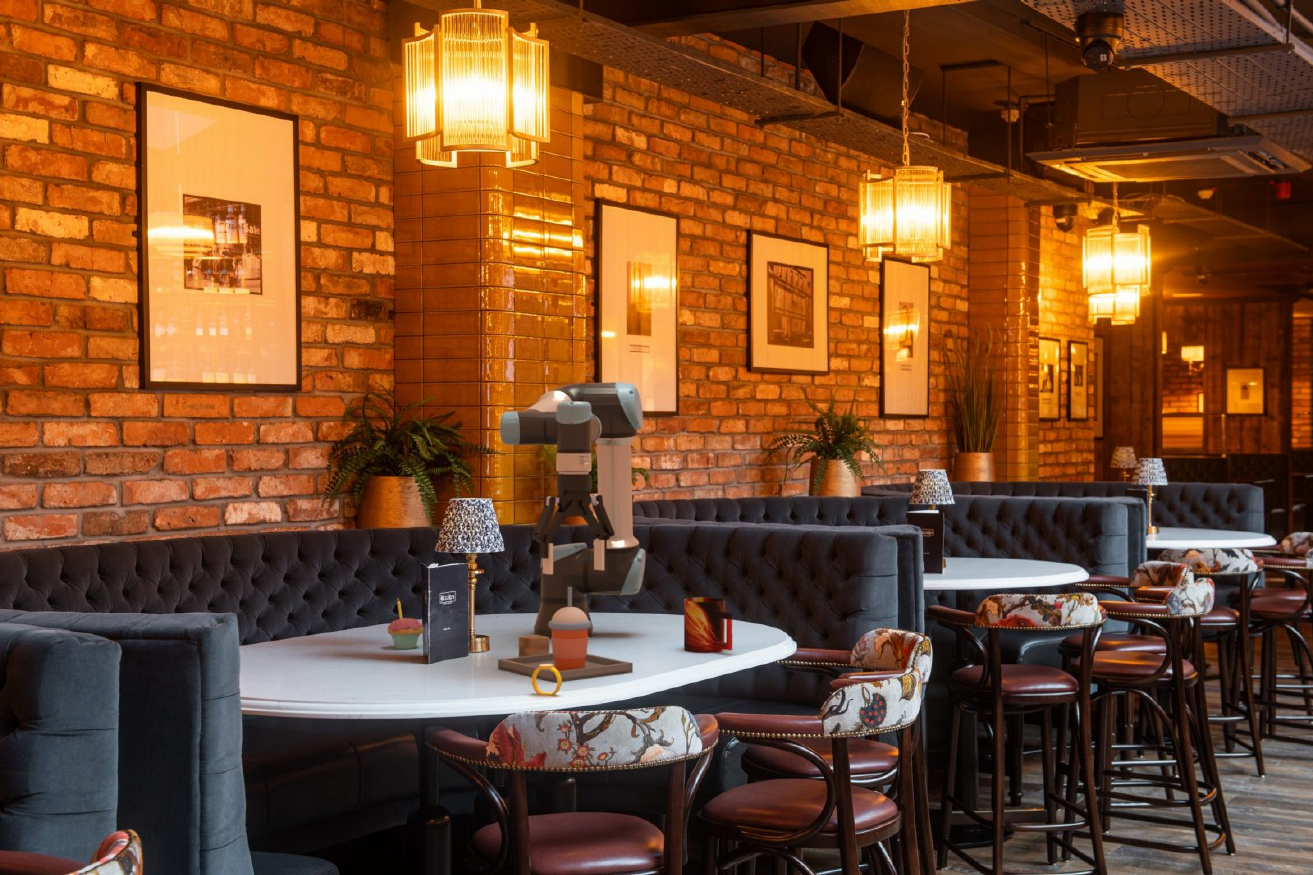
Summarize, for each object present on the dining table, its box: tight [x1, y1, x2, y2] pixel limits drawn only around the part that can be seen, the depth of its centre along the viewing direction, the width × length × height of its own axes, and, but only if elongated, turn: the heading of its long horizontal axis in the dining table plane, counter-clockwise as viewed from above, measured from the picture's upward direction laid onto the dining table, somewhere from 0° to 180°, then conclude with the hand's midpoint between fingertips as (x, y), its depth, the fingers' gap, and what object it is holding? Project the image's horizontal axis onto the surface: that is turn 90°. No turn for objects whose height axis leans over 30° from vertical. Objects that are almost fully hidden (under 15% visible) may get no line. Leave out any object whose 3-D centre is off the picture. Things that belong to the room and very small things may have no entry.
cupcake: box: [387, 597, 424, 650], centre depth 330 cm, size 9×8×12 cm
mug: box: [683, 596, 733, 654], centre depth 326 cm, size 10×14×12 cm
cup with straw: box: [548, 587, 592, 671], centre depth 292 cm, size 9×9×18 cm
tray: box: [497, 652, 634, 683], centre depth 297 cm, size 22×20×2 cm
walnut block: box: [518, 634, 550, 657], centre depth 314 cm, size 5×5×5 cm
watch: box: [531, 664, 562, 696], centre depth 269 cm, size 6×3×6 cm, turn 67°
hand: (573, 572), depth 296 cm, fingers open, 13 cm apart
